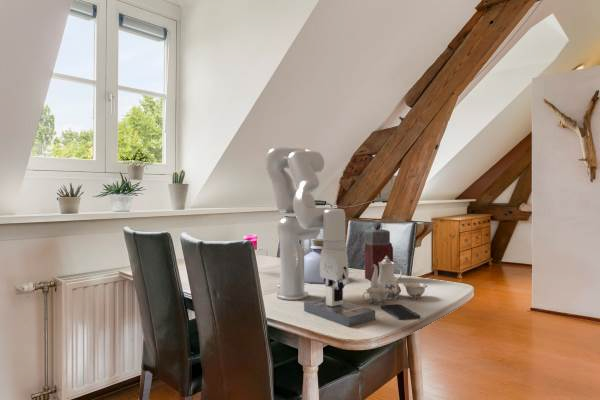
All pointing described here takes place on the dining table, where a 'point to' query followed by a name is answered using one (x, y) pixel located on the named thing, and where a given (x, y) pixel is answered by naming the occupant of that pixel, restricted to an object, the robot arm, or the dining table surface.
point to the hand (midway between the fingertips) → (334, 299)
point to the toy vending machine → (376, 248)
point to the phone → (400, 312)
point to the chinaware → (390, 283)
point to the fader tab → (332, 296)
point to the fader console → (340, 312)
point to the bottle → (313, 263)
